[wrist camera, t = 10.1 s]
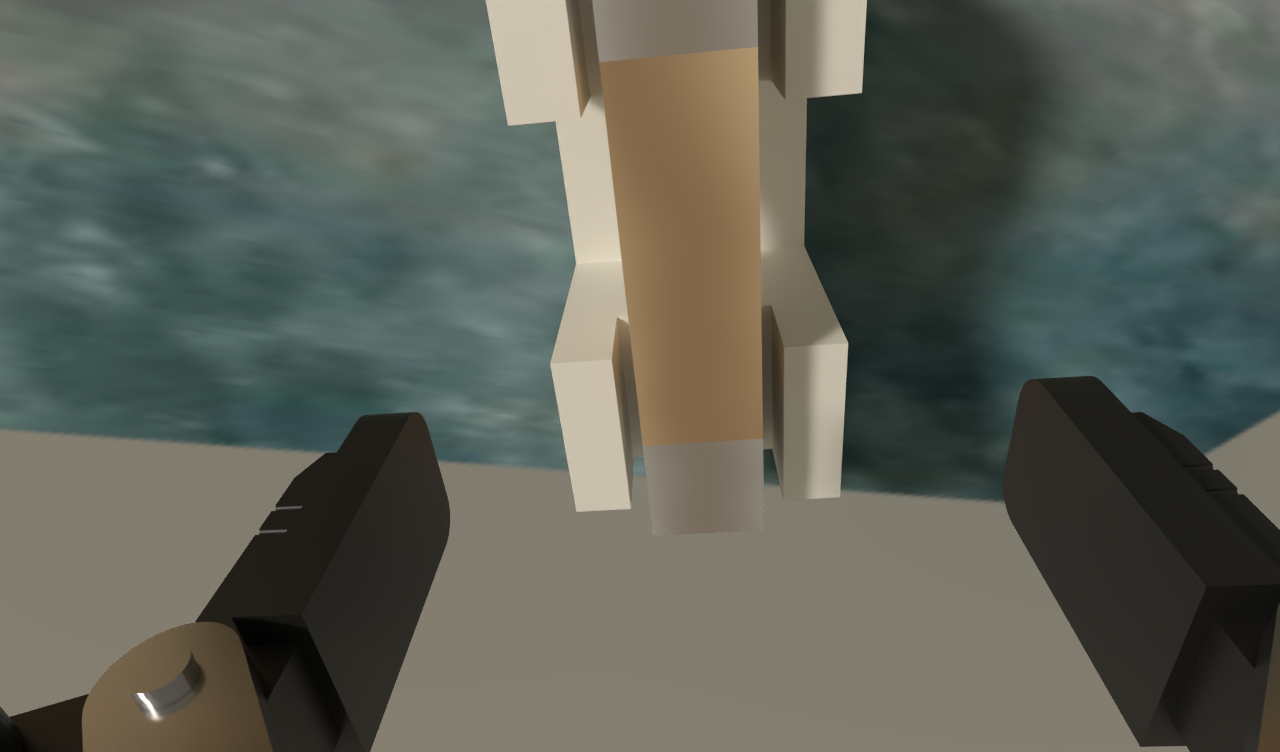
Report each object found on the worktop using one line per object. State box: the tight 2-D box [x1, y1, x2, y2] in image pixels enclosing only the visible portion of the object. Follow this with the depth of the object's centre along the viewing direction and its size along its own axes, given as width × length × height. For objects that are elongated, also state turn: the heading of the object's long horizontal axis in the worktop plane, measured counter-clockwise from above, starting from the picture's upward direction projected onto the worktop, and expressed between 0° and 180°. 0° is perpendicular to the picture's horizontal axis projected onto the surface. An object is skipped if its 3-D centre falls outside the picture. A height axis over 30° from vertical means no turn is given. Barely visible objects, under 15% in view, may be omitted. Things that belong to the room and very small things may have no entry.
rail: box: [592, 0, 764, 536], centre depth 18 cm, size 3×15×4 cm, turn 5°
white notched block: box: [486, 0, 867, 512], centre depth 21 cm, size 8×16×8 cm, turn 5°
